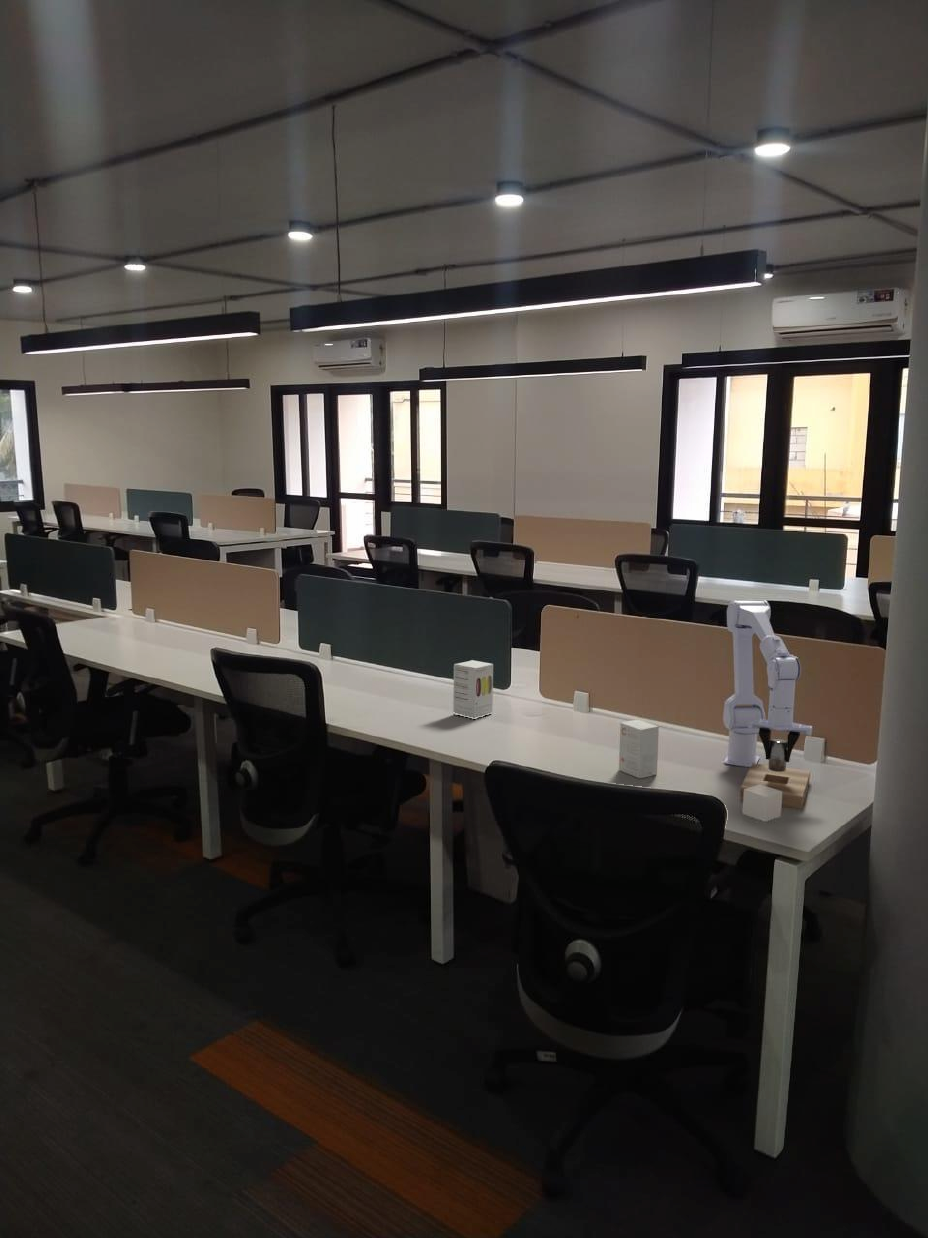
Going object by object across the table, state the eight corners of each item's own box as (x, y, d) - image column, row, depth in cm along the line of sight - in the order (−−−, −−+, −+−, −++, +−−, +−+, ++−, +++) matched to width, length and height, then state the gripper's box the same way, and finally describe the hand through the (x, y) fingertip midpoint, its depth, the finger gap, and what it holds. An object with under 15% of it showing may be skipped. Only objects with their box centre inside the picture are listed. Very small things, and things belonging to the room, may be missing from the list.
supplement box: (474, 720, 279) (474, 668, 277) (452, 715, 285) (452, 663, 282) (493, 714, 286) (494, 663, 284) (471, 709, 292) (472, 659, 290)
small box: (657, 775, 230) (659, 726, 228) (639, 779, 227) (641, 729, 225) (635, 766, 237) (637, 718, 235) (617, 770, 234) (619, 722, 231)
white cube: (758, 808, 208) (760, 784, 207) (780, 816, 203) (782, 791, 202) (742, 814, 204) (743, 789, 203) (764, 822, 199) (766, 797, 198)
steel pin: (769, 765, 221) (771, 738, 220) (786, 767, 219) (788, 740, 218) (767, 770, 217) (769, 742, 216) (784, 772, 215) (786, 744, 214)
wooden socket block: (751, 774, 231) (752, 763, 230) (809, 782, 225) (810, 771, 225) (739, 799, 213) (740, 787, 213) (801, 809, 207) (802, 796, 207)
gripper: (747, 706, 215) (744, 760, 217) (811, 713, 209) (807, 768, 211) (751, 699, 221) (748, 752, 224) (814, 706, 215) (810, 760, 217)
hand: (777, 759), depth 218 cm, fingers closed on steel pin, 4 cm apart
